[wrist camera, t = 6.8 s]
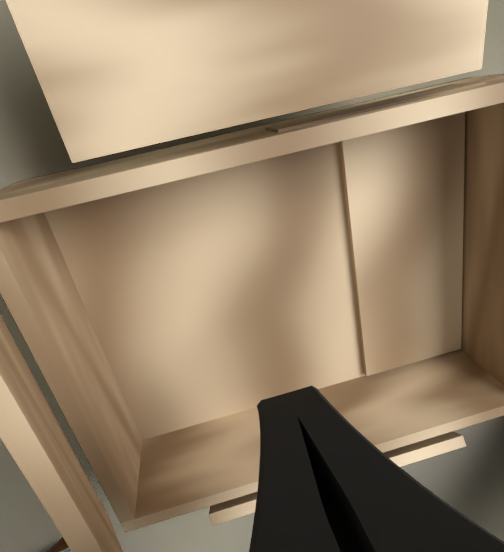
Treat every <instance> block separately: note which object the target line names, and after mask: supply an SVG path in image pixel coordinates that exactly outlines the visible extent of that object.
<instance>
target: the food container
mask: <svg viewBox="0 0 504 552" xmlns="http://www.w3.org/2000/svg"><path fill="white" fill-rule="evenodd" d="M47 552H72V551H71V549H70V548H69V546H68V545H67V543H66V541H65V540H64V538H62V539H61V540H60V541H59V542H58V543H56V544H55V545H54V546H53V547H52V548H51V549H49V550H48V551H47Z"/></svg>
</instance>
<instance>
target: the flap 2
mask: <svg viewBox="0 0 504 552" xmlns="http://www.w3.org/2000/svg"><path fill="white" fill-rule="evenodd" d="M6 3H7V5H8V7H9V10H10V12H11V15H12V17H13V20H14V22H15V25H16V27H17V29H18V32H19V34H20V37H21V39H22V42H23V44H24V47H25V49H26V51H27V54H28V56H29V59H30V61H31V64H32V66H33V69H34V71H35V73H36V76H37V78H38V81H39V83H40V86H41V88H42V91H43V93H44V95H45V98H46V100H47V103H48V105H49V108H50V110H51V112H52V115H53V117H54V120H55V122H56V125H57V127H58V130H59V132H60V134H61V137H62V139H63V142H64V144H65V147H66V149H67V152H68V154H69V156H70V159H71V161H72V163H75V162H80V161H84V160H88V159H93V158H97V157H101V156H106V155H110V154H114V153H119V152H123V151H127V150H132V149H136V148H140V147H145V146H149V145H153V144H158V143H162V142H166V141H171V140H175V139H179V138H184V137H188V136H193V135H197V134H201V133H206V132H210V131H214V130H219V129H223V128H227V127H232V126H236V125H240V124H245V123H249V122H253V121H258V120H262V119H266V118H271V117H275V116H279V115H284V114H288V113H292V112H297V111H301V110H305V109H310V108H314V107H318V106H323V105H327V104H331V103H336V102H340V101H344V100H349V99H353V98H357V97H362V96H366V95H370V94H375V93H379V92H384V91H388V90H392V89H397V88H401V87H405V86H410V85H414V84H418V83H423V82H427V81H431V80H436V79H440V78H444V77H449V76H453V75H457V74H462V73H466V72H470V71H475V70H479V69H482V61H483V50H484V40H485V29H486V19H487V8H488V0H6Z"/></svg>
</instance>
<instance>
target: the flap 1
mask: <svg viewBox="0 0 504 552" xmlns="http://www.w3.org/2000/svg"><path fill="white" fill-rule="evenodd" d="M0 438H1V440H2V441H3V443H4V444H5V446H6V447H7V449H8V451H9V452H10V454H11V455H12V457H13V459H14V460H15V462H16V463H17V465H18V467H19V468H20V470H21V471H22V473H23V475H24V476H25V478H26V479H27V481H28V482H29V484H30V486H31V487H32V489H33V490H34V492H35V494H36V495H37V497H38V498H39V500H40V502H41V503H42V505H43V506H44V508H45V510H46V511H47V513H48V514H49V516H50V517H51V519H52V521H53V522H54V524H55V525H56V527H57V529H58V530H59V532H60V533H61V535H62V537H63V538H64V540H65V541H66V543H67V545H68V546H69V548H70V549H71V551H72V552H123V551H122V549H121V546H120V544H119V541H118V539H117V536H116V534H115V531H114V529H113V526H112V524H111V521H110V519H109V517H108V514H107V513H106V511H105V509H104V507H103V505H102V503H101V501H100V500H99V498H98V496H97V494H96V492H95V490H94V488H93V486H92V485H91V483H90V481H89V479H88V477H87V475H86V473H85V472H84V470H83V468H82V466H81V464H80V462H79V460H78V458H77V457H76V455H75V453H74V451H73V449H72V447H71V445H70V444H69V442H68V440H67V438H66V436H65V434H64V432H63V430H62V429H61V427H60V425H59V423H58V421H57V419H56V417H55V416H54V414H53V412H52V410H51V408H50V406H49V404H48V402H47V401H46V399H45V397H44V395H43V393H42V391H41V389H40V388H39V386H38V384H37V382H36V380H35V378H34V376H33V374H32V373H31V371H30V369H29V367H28V365H27V363H26V361H25V360H24V358H23V356H22V354H21V352H20V350H19V348H18V346H17V345H16V343H15V341H14V339H13V337H12V335H11V333H10V332H9V330H8V328H7V326H6V324H5V322H4V320H3V318H2V317H1V315H0Z"/></svg>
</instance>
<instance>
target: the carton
mask: <svg viewBox="0 0 504 552" xmlns="http://www.w3.org/2000/svg"><path fill="white" fill-rule="evenodd" d="M0 293H1V295H2V297H3V299H4V301H5V303H6V305H7V307H8V309H9V311H10V313H11V314H12V316H13V318H14V320H15V322H16V324H17V326H18V328H19V330H20V332H21V334H22V335H23V337H24V339H25V341H26V343H27V345H28V347H29V349H30V351H31V353H32V355H33V357H34V358H35V360H36V362H37V364H38V366H39V368H40V370H41V372H42V374H43V376H44V378H45V380H46V381H47V383H48V385H49V387H50V389H51V391H52V393H53V395H54V397H55V399H56V401H57V402H58V404H59V406H60V408H61V410H62V412H63V414H64V416H65V418H66V420H67V422H68V424H69V425H70V427H71V429H72V431H73V433H74V435H75V437H76V439H77V441H78V443H79V445H80V447H81V448H82V450H83V452H84V454H85V456H86V458H87V460H88V462H89V464H90V466H91V468H92V469H93V471H94V473H95V475H96V477H97V479H98V481H99V483H100V485H101V487H102V489H103V491H104V492H105V494H106V496H107V498H108V500H109V502H110V504H111V506H112V508H113V510H114V512H115V514H116V515H117V517H118V519H119V521H120V523H121V525H122V527H123V529H124V531H125V532H128V531H131V530H134V529H138V528H141V527H144V526H147V525H150V524H154V523H157V522H160V521H163V520H167V519H170V518H173V517H176V516H180V515H183V514H186V513H189V512H193V511H196V510H199V509H202V508H206V507H209V506H210V511H209V516H210V521H211V525H212V526H213V525H216V524H219V523H222V522H226V521H229V520H232V519H235V518H238V517H242V516H245V515H248V514H251V513H254V512H255V508H256V500H257V491H258V480H259V463H260V422H259V413H258V409H257V405H258V403H259V402H260V401H261V400H264V399H267V398H271V397H274V396H278V395H281V394H285V393H288V392H292V391H295V390H298V389H302V388H305V387H309V386H313V387H315V388H317V389H318V390H319V391H320V393H321V394H322V395H323V396H324V397H325V398H326V399H327V400H328V401H329V403H330V404H331V405H332V406H333V407H334V408H335V409H336V410H337V411H338V412H339V413H340V414H341V415H342V416H343V417H344V418H345V419H346V420H347V421H348V422H349V423H350V424H351V425H352V426H353V427H354V428H356V429H357V430H358V431H359V432H360V433H361V434H362V435H363V436H364V437H365V438H366V439H368V440H369V441H370V442H371V443H372V444H373V445H374V446H375V447H377V448H378V449H379V450H380V451H381V452H382V453H383V454H385V455H386V456H387V457H388V458H389V459H390V460H392V461H393V462H394V463H395V464H396V465H398V466H399V467H401V466H404V465H408V464H411V463H414V462H417V461H420V460H424V459H427V458H430V457H433V456H436V455H440V454H443V453H446V452H449V451H452V450H456V449H459V448H462V447H465V446H466V444H465V441H464V438H463V435H460V434H457V433H455V432H452V431H455V430H458V429H461V428H465V427H468V426H471V425H474V424H478V423H481V422H484V421H487V420H491V419H494V418H497V417H500V416H504V74H497V75H487V76H478V77H469V78H465V79H461V80H456V81H452V82H448V83H443V84H439V85H435V86H431V87H426V88H422V89H418V90H413V91H409V92H405V93H400V94H396V95H392V96H387V97H383V98H379V99H374V100H370V101H366V102H361V103H357V104H353V105H349V106H344V107H340V108H336V109H331V110H327V111H323V112H318V113H314V114H310V115H305V116H301V117H297V118H292V119H288V120H284V121H279V122H275V123H271V124H266V125H262V126H258V127H254V128H249V129H245V130H241V131H236V132H232V133H228V134H223V135H219V136H215V137H210V138H206V139H202V140H197V141H193V142H189V143H184V144H180V145H176V146H171V147H167V148H163V149H159V150H154V151H150V152H146V153H141V154H137V155H133V156H128V157H124V158H120V159H115V160H111V161H107V162H102V163H98V164H94V165H89V166H85V167H81V168H77V169H72V170H68V171H64V172H59V173H55V174H51V175H46V176H42V177H38V178H33V179H29V180H25V181H20V182H17V183H15V184H13V185H10V186H8V187H6V188H4V189H2V190H0Z"/></svg>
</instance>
